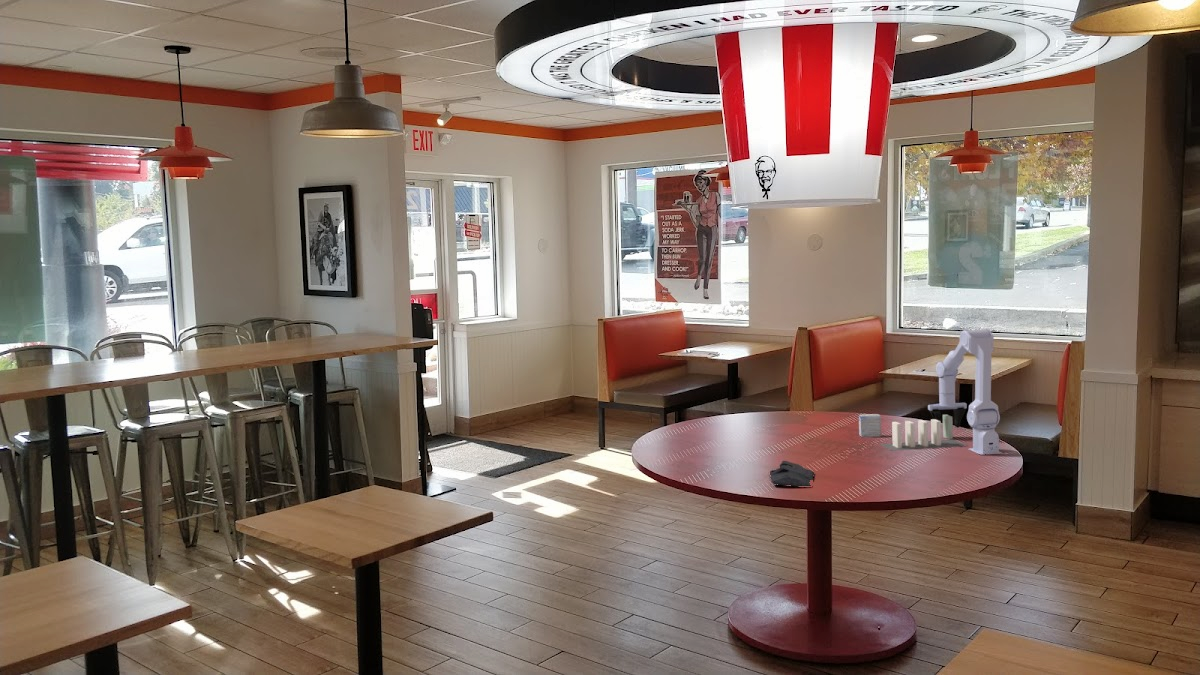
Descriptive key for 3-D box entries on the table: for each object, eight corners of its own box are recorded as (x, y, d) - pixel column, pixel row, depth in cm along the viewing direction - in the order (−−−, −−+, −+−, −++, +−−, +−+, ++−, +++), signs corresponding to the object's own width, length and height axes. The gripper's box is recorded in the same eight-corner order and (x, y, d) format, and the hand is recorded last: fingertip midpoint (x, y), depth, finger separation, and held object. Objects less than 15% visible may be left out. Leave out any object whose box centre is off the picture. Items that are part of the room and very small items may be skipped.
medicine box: (879, 435, 372) (878, 413, 371) (881, 437, 368) (880, 415, 367) (859, 435, 373) (858, 414, 372) (861, 437, 368) (860, 416, 368)
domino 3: (922, 443, 351) (922, 420, 350) (928, 446, 346) (927, 422, 345) (918, 443, 351) (918, 420, 350) (923, 446, 346) (923, 422, 345)
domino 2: (909, 444, 350) (909, 420, 350) (915, 447, 345) (914, 423, 345) (905, 444, 350) (905, 421, 349) (910, 447, 345) (910, 423, 344)
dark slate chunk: (765, 489, 299) (764, 474, 298) (769, 473, 320) (769, 459, 319) (813, 490, 295) (813, 475, 294) (815, 473, 316) (814, 459, 316)
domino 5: (947, 437, 361) (946, 414, 361) (952, 439, 356) (952, 416, 356) (943, 437, 361) (942, 414, 361) (948, 440, 356) (948, 416, 356)
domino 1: (896, 445, 350) (896, 421, 349) (901, 447, 345) (901, 423, 344) (892, 445, 350) (892, 421, 349) (897, 448, 345) (897, 424, 344)
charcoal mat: (968, 446, 343) (968, 445, 343) (891, 451, 341) (891, 450, 341) (953, 440, 355) (953, 439, 355) (879, 445, 353) (879, 444, 353)
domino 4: (935, 442, 351) (935, 419, 350) (941, 445, 346) (940, 421, 345) (931, 442, 351) (930, 419, 350) (937, 445, 346) (936, 421, 345)
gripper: (960, 390, 362) (961, 424, 363) (924, 392, 361) (925, 426, 362) (969, 393, 355) (969, 428, 356) (932, 395, 354) (932, 430, 355)
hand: (947, 427), depth 359 cm, fingers open, 7 cm apart
